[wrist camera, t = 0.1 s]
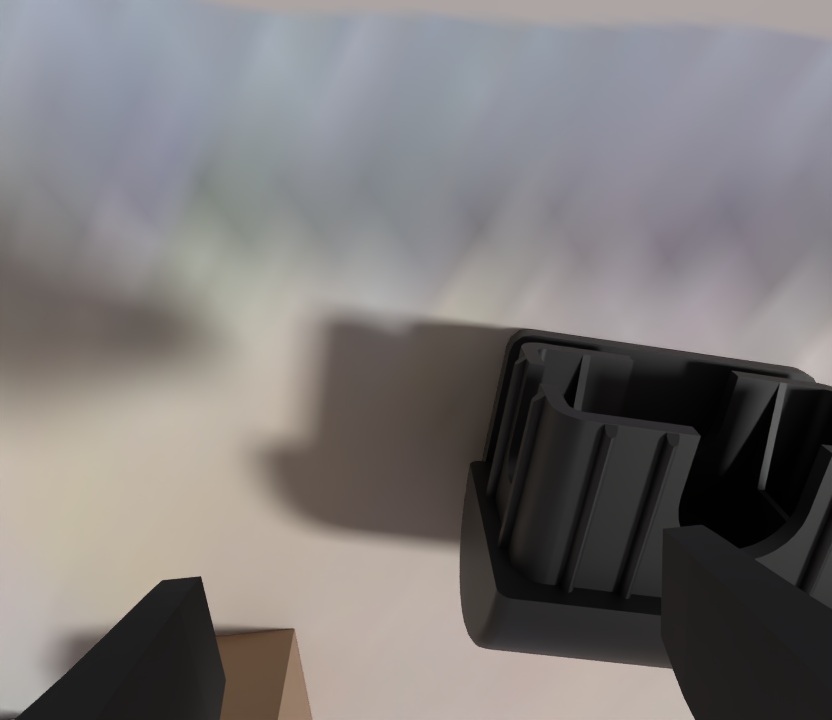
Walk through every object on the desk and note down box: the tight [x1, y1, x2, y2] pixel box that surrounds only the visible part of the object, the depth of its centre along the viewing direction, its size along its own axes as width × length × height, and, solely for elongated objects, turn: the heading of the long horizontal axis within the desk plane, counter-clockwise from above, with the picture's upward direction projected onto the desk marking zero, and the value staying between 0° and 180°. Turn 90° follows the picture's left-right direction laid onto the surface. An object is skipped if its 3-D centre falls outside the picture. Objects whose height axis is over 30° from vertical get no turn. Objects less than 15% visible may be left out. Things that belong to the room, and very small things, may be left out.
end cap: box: [460, 329, 832, 669], centre depth 19 cm, size 10×7×7 cm
